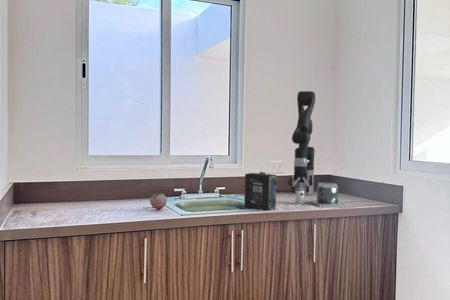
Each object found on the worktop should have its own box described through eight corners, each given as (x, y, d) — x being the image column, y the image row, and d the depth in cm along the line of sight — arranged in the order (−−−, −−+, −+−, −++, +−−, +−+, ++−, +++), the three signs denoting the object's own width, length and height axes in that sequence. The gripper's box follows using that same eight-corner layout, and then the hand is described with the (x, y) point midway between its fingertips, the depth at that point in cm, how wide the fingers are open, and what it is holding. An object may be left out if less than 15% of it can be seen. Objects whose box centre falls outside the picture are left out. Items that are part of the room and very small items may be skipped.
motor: (309, 202, 233) (309, 182, 232) (334, 202, 235) (334, 181, 235) (319, 207, 217) (320, 185, 217) (346, 206, 219) (346, 185, 219)
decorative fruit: (156, 208, 208) (156, 189, 207) (169, 209, 204) (169, 190, 204) (146, 211, 199) (146, 192, 199) (159, 212, 196) (160, 193, 195)
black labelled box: (270, 211, 203) (271, 173, 202) (242, 207, 214) (243, 171, 213) (277, 209, 210) (278, 172, 209) (250, 205, 221) (250, 170, 220)
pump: (294, 203, 229) (294, 187, 228) (302, 203, 229) (302, 187, 229) (298, 205, 222) (298, 189, 222) (306, 205, 223) (306, 189, 223)
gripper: (309, 165, 231) (309, 191, 231) (287, 165, 228) (286, 191, 229) (314, 166, 223) (313, 193, 223) (291, 165, 221) (290, 193, 221)
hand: (300, 192), depth 226 cm, fingers open, 8 cm apart
